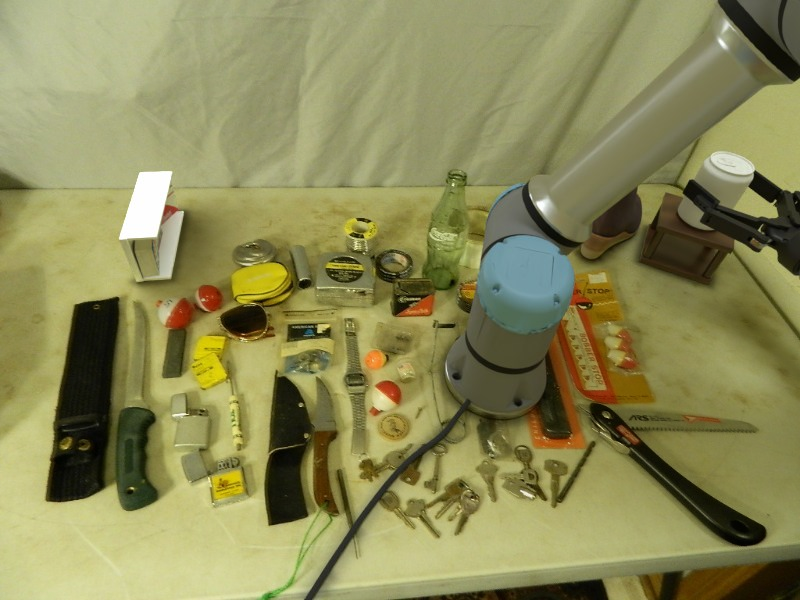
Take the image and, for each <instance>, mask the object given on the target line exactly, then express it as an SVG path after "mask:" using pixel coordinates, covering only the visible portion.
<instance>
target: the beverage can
mask: <svg viewBox="0 0 800 600" xmlns="http://www.w3.org/2000/svg"><path fill="white" fill-rule="evenodd" d="M755 170H756V167H755V165H754V164H753V162H751V161H750V160H749V159H747V158H746V157H744V156H742V155H741V154H740V155H739V154H737V153H734V152H730V151H724V150H723V151H722V150H721V151H720V150H719V151H715V152H713V153H711V154H710V155H709V156H708V157H707V158H706V159H704V160H703V162H702V164H701V166H700V168H699V170H698V171H697V173H696V175H695V176H694V178H693V180H695V181H696V182H697V183H698V184H699V185H701V186H702V187H703V188H704V189H706V190H707V191H708V192H709V193H711V194H712V195H713V196H714V197H715V198H717V199H718V200H719V201H720V203H719V204H718V205H721V206H724V207H727V208H730V209H733V210H735V208H736V206H737V204H738V203H739V201H740V200H741V198H742V197H743V195H744V194H745V193H746V191H747V189H748V188H749V187H748V186H749V184H750V183H751V181H752V180H753V177H754V173H753V172H754V171H755ZM683 196H684V198H683V200H682V202H681V204H680V205H679V207H678V214H679V216H680V217H681V218H682V219H683V220H684V221H685V222H686V223H688V224H689V225H691V226H693V227H696V228H699V229H703V230H714V229H712V228H710V227H708V226H706V225H704V224H702V223H700V219H701V218H702V216H703V214H704V212H703V211H701V210H700V209H699V208H698V207H697V206H696V205H694V203H693V202H692V201H691V200H690V199H689V198H687V197H686V196H685V195H683ZM718 212H719V211H718Z"/></svg>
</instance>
